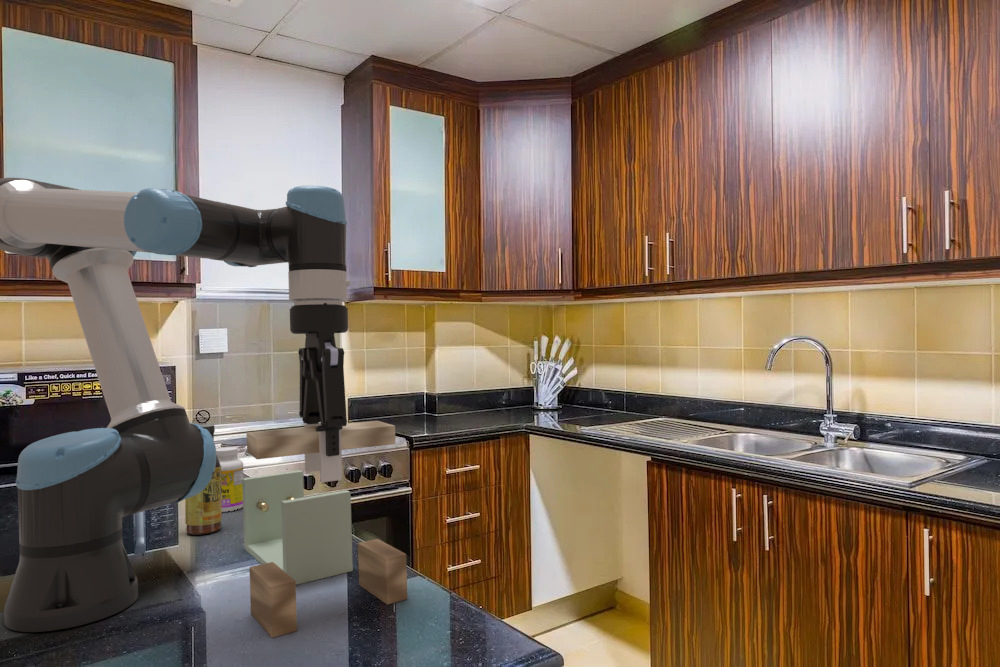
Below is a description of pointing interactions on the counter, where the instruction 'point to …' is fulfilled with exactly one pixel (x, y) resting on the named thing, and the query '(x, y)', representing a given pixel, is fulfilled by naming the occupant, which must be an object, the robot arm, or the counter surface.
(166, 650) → the counter surface
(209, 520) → the sauce bottle
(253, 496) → the shelf frame
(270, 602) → the blocks
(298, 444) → the shelf board
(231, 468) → the supplement bottle
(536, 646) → the counter surface
